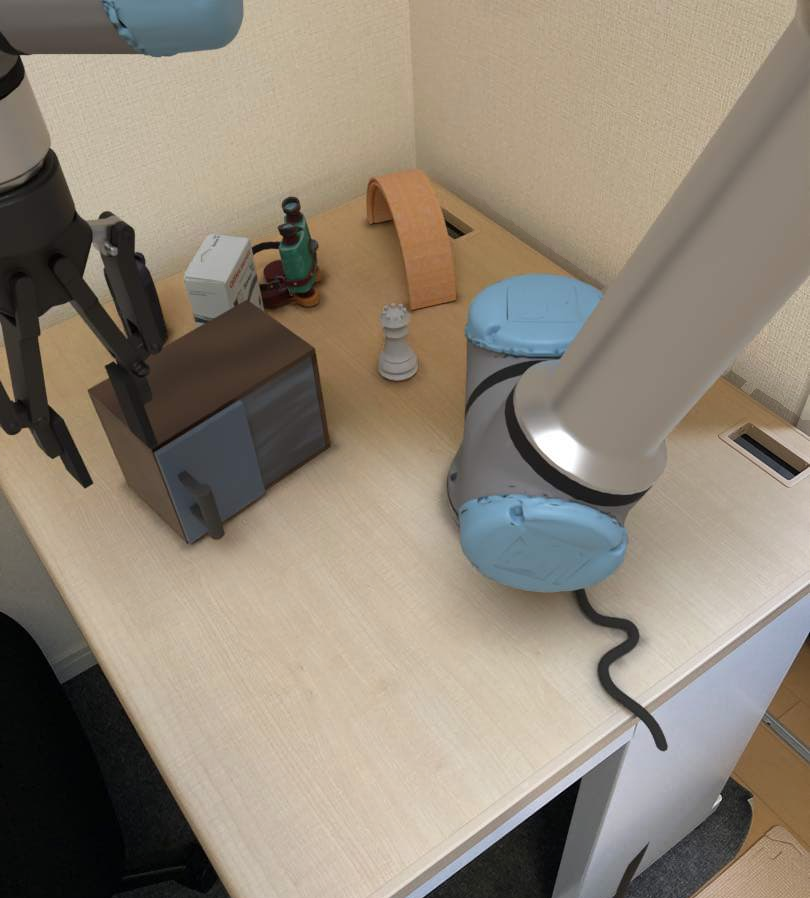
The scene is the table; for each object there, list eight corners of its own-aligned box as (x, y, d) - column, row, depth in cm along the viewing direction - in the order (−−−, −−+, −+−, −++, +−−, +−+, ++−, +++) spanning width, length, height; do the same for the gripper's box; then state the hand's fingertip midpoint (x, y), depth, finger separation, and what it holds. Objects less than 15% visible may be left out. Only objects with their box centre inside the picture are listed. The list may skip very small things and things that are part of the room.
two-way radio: (121, 340, 106) (78, 226, 94) (142, 317, 109) (103, 203, 97) (160, 351, 105) (122, 236, 93) (181, 328, 107) (146, 213, 95)
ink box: (246, 371, 102) (225, 282, 92) (205, 367, 102) (179, 278, 93) (269, 322, 107) (251, 233, 98) (229, 319, 108) (207, 230, 98)
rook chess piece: (396, 389, 98) (391, 330, 92) (369, 369, 101) (363, 310, 94) (426, 369, 100) (424, 310, 94) (400, 350, 102) (396, 291, 96)
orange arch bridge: (409, 310, 107) (405, 235, 99) (367, 219, 119) (360, 146, 111) (456, 300, 108) (456, 224, 100) (409, 211, 120) (406, 137, 112)
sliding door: (292, 515, 87) (271, 425, 78) (215, 568, 84) (185, 481, 74) (262, 489, 89) (239, 399, 80) (187, 540, 86) (153, 452, 76)
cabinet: (331, 446, 94) (315, 347, 84) (187, 544, 87) (150, 448, 76) (269, 398, 99) (247, 299, 89) (128, 486, 92) (86, 389, 82)
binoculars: (228, 199, 106) (312, 188, 105) (253, 275, 114) (331, 266, 113) (217, 243, 100) (305, 232, 99) (244, 320, 109) (326, 311, 107)
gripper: (91, 83, 55) (183, 375, 73) (-202, 204, 48) (-20, 494, 66) (159, 124, 52) (238, 420, 70) (-147, 262, 45) (29, 552, 63)
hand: (112, 456), depth 68 cm, fingers open, 5 cm apart
